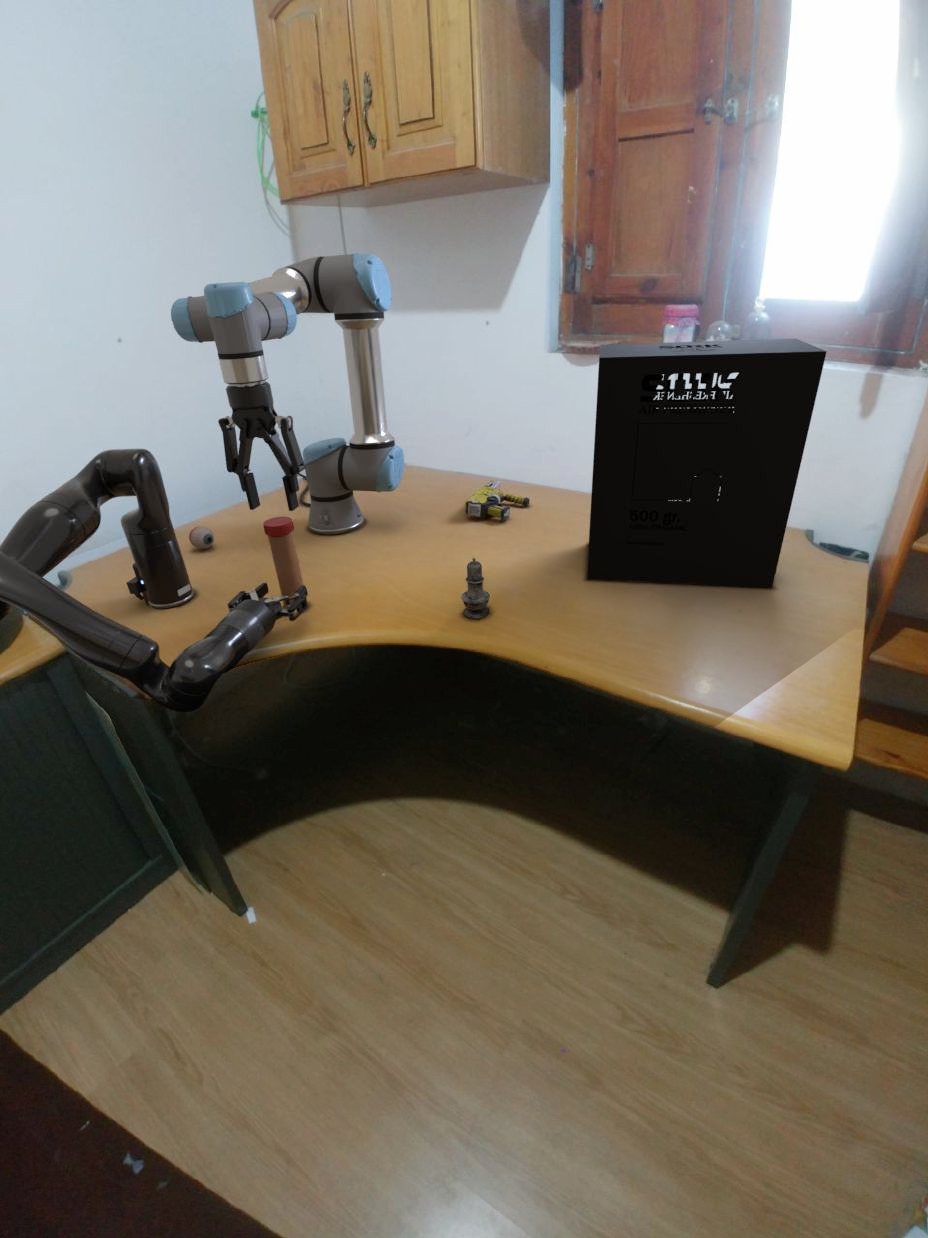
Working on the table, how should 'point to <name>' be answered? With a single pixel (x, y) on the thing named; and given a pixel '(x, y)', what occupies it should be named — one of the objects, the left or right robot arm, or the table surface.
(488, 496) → the toy gun
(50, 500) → the left robot arm
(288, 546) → the jar
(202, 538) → the eyeball
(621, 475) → the cardboard box
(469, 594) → the dark grey tiered figure
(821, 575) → the table surface
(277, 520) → the lid
